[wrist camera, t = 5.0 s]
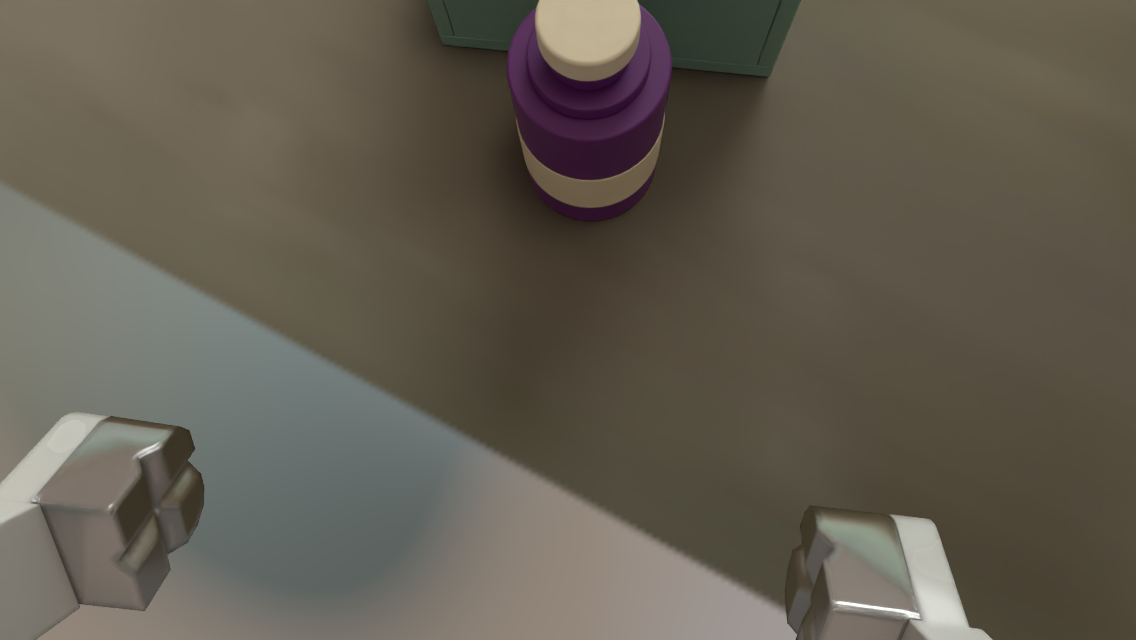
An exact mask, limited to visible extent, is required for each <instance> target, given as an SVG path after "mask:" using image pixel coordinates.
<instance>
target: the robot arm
mask: <svg viewBox="0 0 1136 640" xmlns="http://www.w3.org/2000/svg"><path fill="white" fill-rule="evenodd" d="M194 450H195V447H194V444H193V440H192V437H191V434H190V431H189V430H187V429H185V428H183V427H179V426H173V425H166V424H160V423H153V422H147V421H140V420H133V419H126V418H120V417H114V416H110V417H108V416H102V415H95V414H89V413H82V412H76V411H75V412H72V413H70V414H68V415H65V416H63V417H62V418H61V419H60V420H59V421H58V422H57V423H56V424H55V425H54V426H53V427H52V428H51V429H50V430H49V432H48V433H47V434H46V435H45V436H44V437H43V438H42V439H41V440H40V441H39V442H38V444H36V446H35V447H34V448H33V449H32V450H31V451H30V452H29V453H28V454H27V455H26V456H25V457H24V458H23V460H22V461H21V462H20V463H19V464H18V465H17V466H16V467H15V468H14V469H13V470H12V471H11V472H10V474H9V475H8V476H7V477H6V478H5V479H4V480H3V481H2V482H1V483H0V640H36V639H37V638H39V637H40V636H41V635H43V634H44V633H46V632H47V631H48V630H50V629H51V628H52V627H54V626H55V625H57V624H58V623H60V622H61V621H62V620H64V619H65V618H67V617H68V616H69V615H71V614H72V613H73V612H75V611H76V610H77V609H79V608H80V605H79V604H84V605H93V606H103V607H111V608H121V609H130V610H139V611H145V609H146V608H147V606H148V605H149V603H150V602H151V600H152V599H153V597H154V595H155V594H156V592H157V591H158V589H159V587H160V586H161V584H162V582H163V581H164V579H165V578H166V576H167V575H168V573H169V571H170V564H169V560H168V554H169V553H171V552H173V551H174V550H176V549H178V548H179V547H181V546H183V545H184V544H186V543H187V542H188V541H189V539H190V537H191V536H192V534H193V532H194V530H195V529H196V527H197V525H198V522H199V518H200V515H201V512H202V509H203V505H204V484H203V480H202V476H201V473H200V472H198V470H197V469H196V468H195V467H194V466H193V465H192V464H191V463H190V462H188V459H189V457H190V456H191V455H192V453H193V452H194ZM800 529H801V536H802V543H803V544H801V545H800V546H798V547H797V548H795V549H794V550H793V551H792V555H791V558H790V562H789V566H788V571H787V579H786V588H785V599H786V614H787V623H788V624H789V625H790V627H791V628H792V629H793V630H794V631H795V633H796V634H797V637H796V640H992V639H991V638H990V637H989V636H988V635H987V634H986V633H985V632H984V631H983V630H982V629H976V628H970V627H969V624H968V621H967V618H966V615H965V612H964V609H963V606H962V603H961V600H960V597H959V594H958V591H957V588H956V585H955V582H954V579H953V576H952V573H951V570H950V567H949V564H948V561H947V558H946V555H945V552H944V549H943V545H942V542H941V539H940V536H939V533H938V530H937V527H936V525H935V524H934V523H933V522H932V521H931V520H930V519H924V518H916V517H907V516H898V515H886V514H880V513H871V512H863V511H854V510H845V509H837V508H828V507H820V506H811V505H809V507H808V508H807V510H806V511H805V513H804V516H803V519H802V522H801V525H800Z"/></svg>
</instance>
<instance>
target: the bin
mask: <svg viewBox="0 0 1136 640" xmlns="http://www.w3.org/2000/svg"><path fill="white" fill-rule="evenodd" d="M427 1H428V4H429V7H430V10H431V13H432V15H433V18H434V21H435V24H436V27H437V30H438V32H439V35H440V38H441V41H442V44H443V45H452V46H462V47H472V48H482V49H492V50H502V51H509V46H510V44H511V41H512V38H513V36H514V34H515V32H516V30H517V29H518V27H519V26H520V24H521V23H522V22H523V20H524V19H525V18H526V17H527V16H528V15H529V14H530V13H531V12H532V11H533V10H534V9H535V8H536V7H537V4H538V2H539V0H427ZM637 1H638V3H639V4H640V5H641V6H642V7H644V8H645V9H646V10H647V11H648V12H649V13H650V14H651V15H652V16H653V17H654V18H655V19H656V21H657V22H658V23H659V24H660V26H661V28H662V30H663V31H664V33H665V35H666V38H667V40H668V43H669V47H670V51H671V58H672V67H675V68H685V69H695V70H705V71H715V72H725V73H735V74H746V75H756V76H766V77H769V76H770V74H771V72H772V69H773V66H774V64H775V62H776V59H777V57H778V54H779V52H780V50H781V47H782V45H783V42H784V40H785V37H786V35H787V33H788V30H789V28H790V25H791V23H792V20H793V18H794V16H795V13H796V11H797V8H798V6H799V4H800V1H801V0H637Z"/></svg>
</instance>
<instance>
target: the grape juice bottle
mask: <svg viewBox="0 0 1136 640" xmlns="http://www.w3.org/2000/svg"><path fill="white" fill-rule="evenodd" d="M506 67H507V78H508V83H509V88H510V92H511V97H512V101H513V106H514V110H515V114H516V124H517V128H518V133H519V137H520V142H521V146H522V150H523V155H524V159H525V162H526V165H527V168H528V172H529V176H530V179H531V182H532V184H533V186H534V188H535V190H536V192H537V193H538V195H539V196H540V198H541V199H542V200H543V201H544V202H545V203H546V204H547V205H548V206H550V207H551V208H552V209H554V210H555V211H557V212H558V213H560V214H562V215H565V216H567V217H570V218H573V219H577V220H583V221H598V220H605V219H609V218H612V217H615V216H618V215H620V214H622V213H624V212H625V211H627V210H628V209H630V208H631V207H633V206H634V205H635V204H636V203H637V202H638V201H639V200H640V199H641V198H642V197H643V196H644V194H645V193H646V191H647V190H648V188H649V186H650V184H651V182H652V179H653V176H654V171H655V166H656V162H657V159H658V154H659V149H660V143H661V138H662V132H663V126H664V121H665V108H666V102H667V96H668V91H669V85H670V79H671V73H672V58H671V51H670V47H669V43H668V40H667V38H666V35H665V33H664V31H663V30H662V28H661V26H660V24H659V23H658V22H657V21H656V19H655V18H654V17H653V16H652V15H651V14H650V13H649V12H648V11H647V10H646V9H645V8H644V7H642V6H641V5H640V4H639V3H638V1H637V0H539V2H538V4H537V7H536V8H535V9H534V10H533V11H532V12H531V13H530V14H529V15H528V16H527V17H526V18H525V19H524V20H523V22H522V23H521V24H520V26H519V27H518V29H517V30H516V32H515V34H514V36H513V38H512V41H511V44H510V46H509V51H508V55H507V66H506Z"/></svg>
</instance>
